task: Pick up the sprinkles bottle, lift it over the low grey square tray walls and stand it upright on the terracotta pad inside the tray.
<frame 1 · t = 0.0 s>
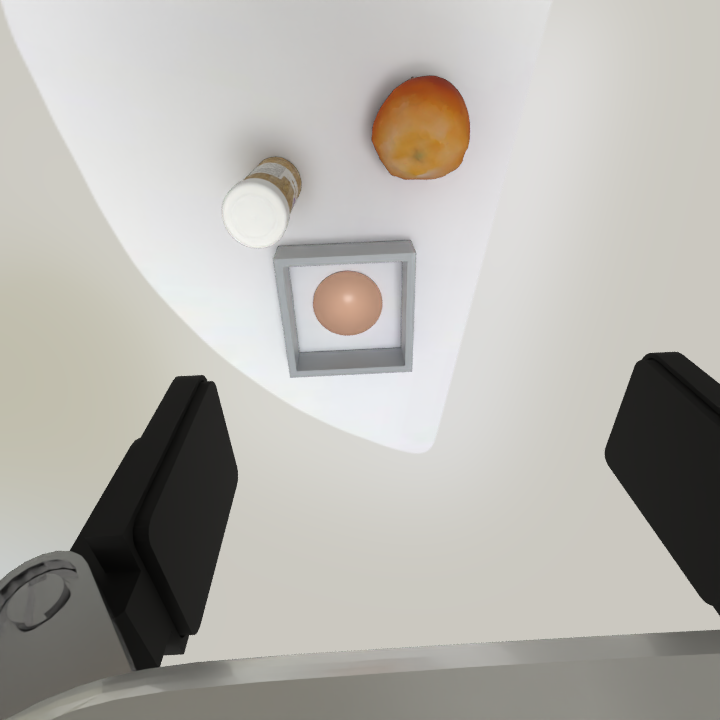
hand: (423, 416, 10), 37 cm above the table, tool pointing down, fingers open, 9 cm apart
fruit: (415, 127, 40), on the table
grey square tray: (347, 303, 49), on the table
sprinkles bottle: (278, 181, 42), on the table
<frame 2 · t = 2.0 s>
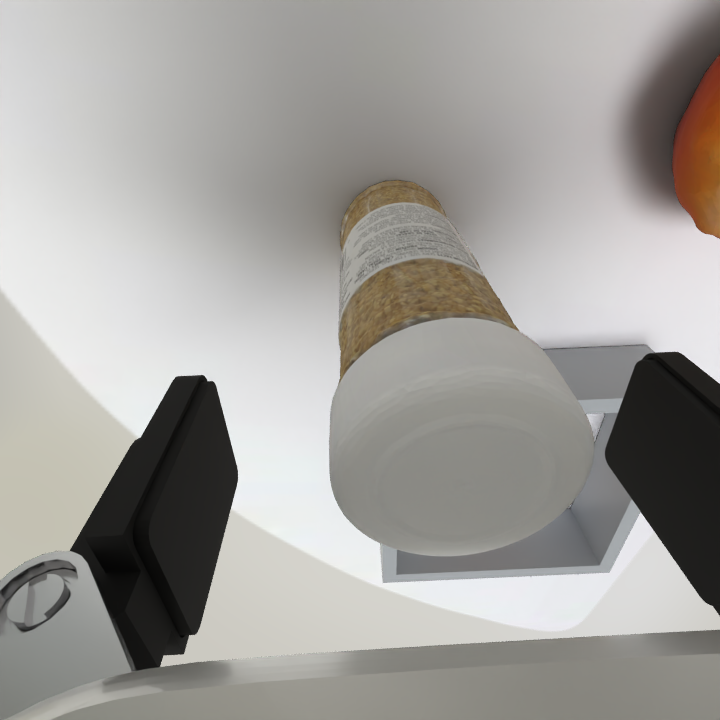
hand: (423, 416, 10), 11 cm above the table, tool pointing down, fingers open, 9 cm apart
grey square tray: (493, 447, 26), on the table
sprinkles bottle: (392, 231, 19), on the table
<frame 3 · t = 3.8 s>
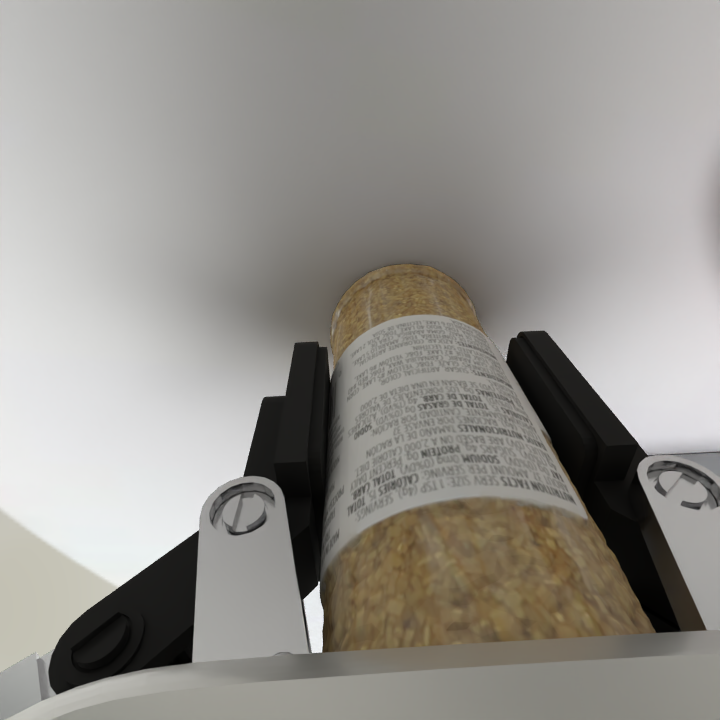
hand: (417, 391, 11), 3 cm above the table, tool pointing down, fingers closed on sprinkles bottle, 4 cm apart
grey square tray: (523, 565, 21), on the table
sprinkles bottle: (400, 324, 14), on the table, touching gripper
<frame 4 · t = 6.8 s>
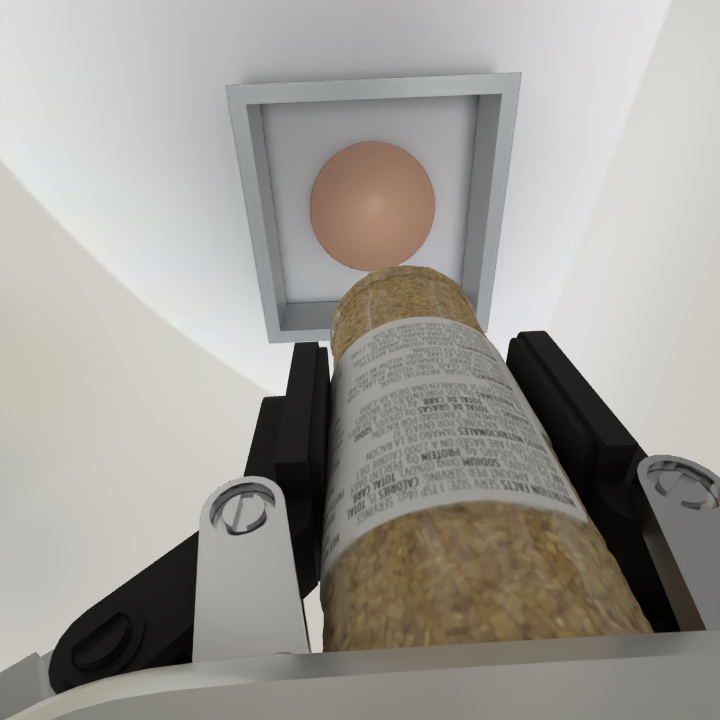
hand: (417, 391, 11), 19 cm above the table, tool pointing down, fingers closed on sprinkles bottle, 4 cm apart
grey square tray: (372, 210, 27), on the table
sprinkles bottle: (400, 325, 14), point 16 cm above the table, touching gripper
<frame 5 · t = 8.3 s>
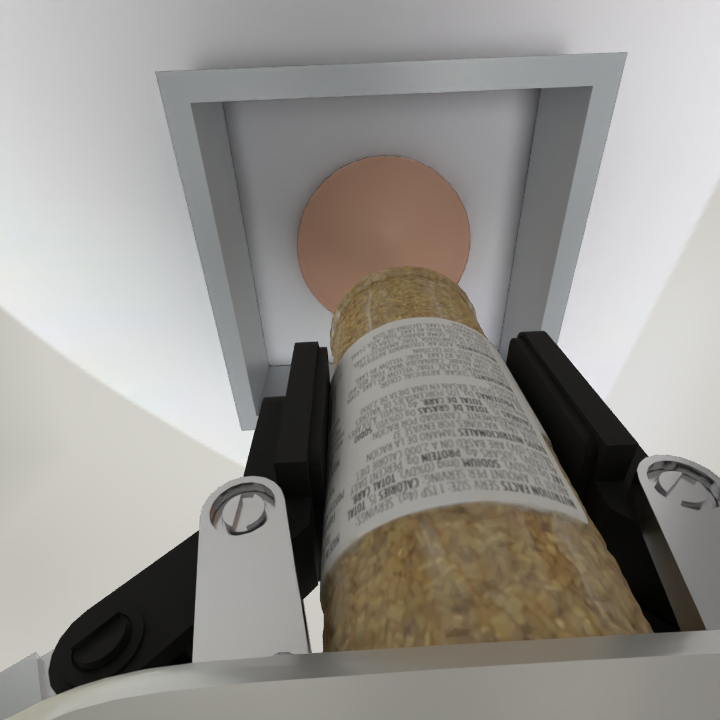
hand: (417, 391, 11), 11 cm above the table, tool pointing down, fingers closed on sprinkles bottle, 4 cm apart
grey square tray: (383, 248, 20), on the table
sprinkles bottle: (400, 326, 14), point 7 cm above the table, touching gripper
when the fingers open (5 cm above the table, at t = 9.7 s): sprinkles bottle drops 1 cm, resting on grey square tray.
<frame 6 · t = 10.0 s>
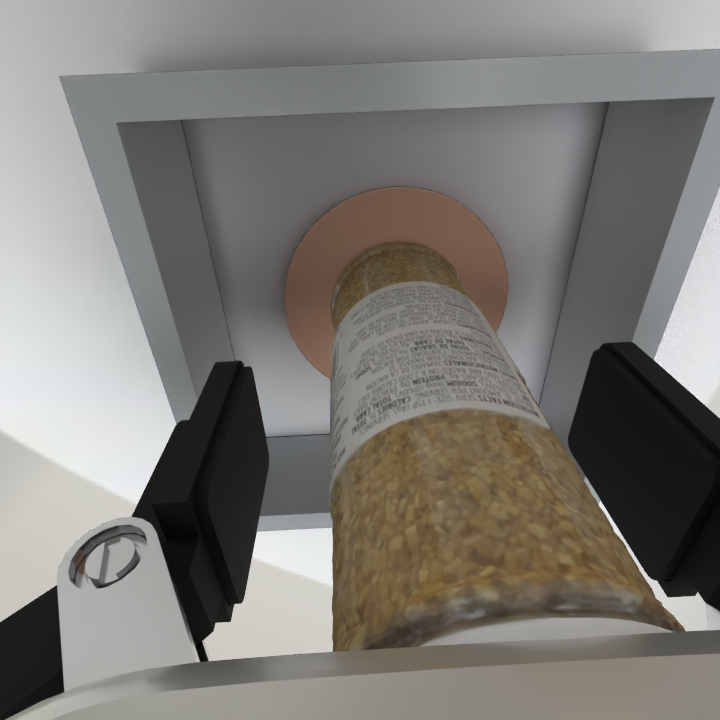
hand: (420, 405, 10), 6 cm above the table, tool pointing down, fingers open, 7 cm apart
grey square tray: (394, 301, 15), on the table
sprinkles bottle: (394, 299, 15), resting on grey square tray
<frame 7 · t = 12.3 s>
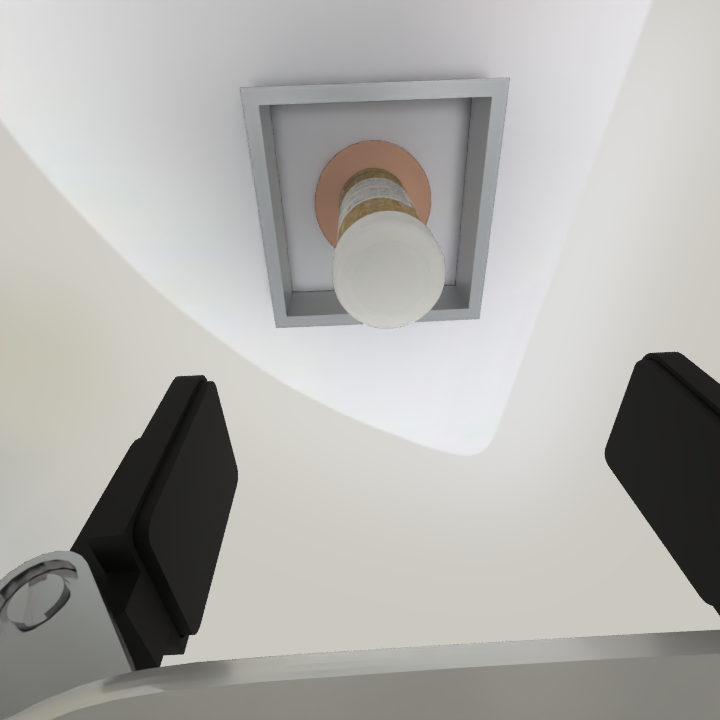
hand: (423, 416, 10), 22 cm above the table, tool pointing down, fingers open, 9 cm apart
grey square tray: (372, 204, 29), on the table
sprinkles bottle: (372, 202, 29), resting on grey square tray
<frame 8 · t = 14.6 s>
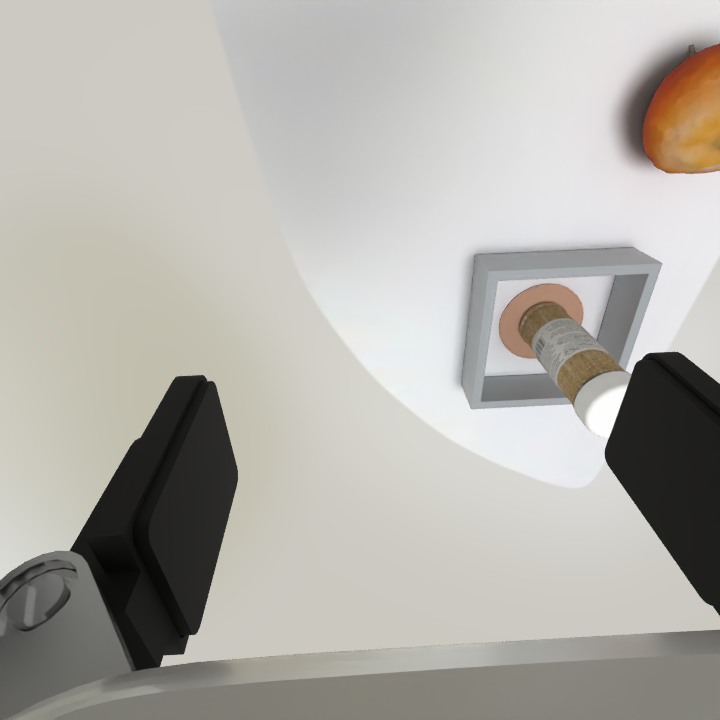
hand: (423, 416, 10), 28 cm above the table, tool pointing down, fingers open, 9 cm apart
fruit: (675, 110, 32), on the table
grey square tray: (539, 321, 41), on the table
sprinkles bottle: (540, 321, 41), resting on grey square tray
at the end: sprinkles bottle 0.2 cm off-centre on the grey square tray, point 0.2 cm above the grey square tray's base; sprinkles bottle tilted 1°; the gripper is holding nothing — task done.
